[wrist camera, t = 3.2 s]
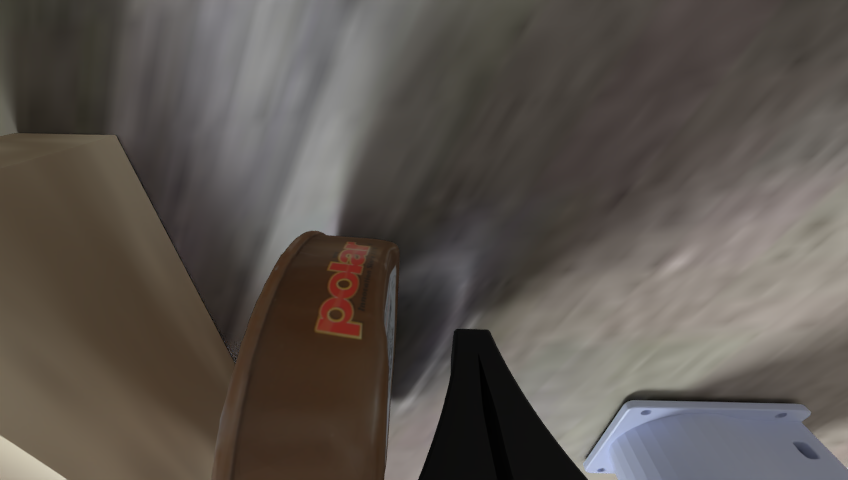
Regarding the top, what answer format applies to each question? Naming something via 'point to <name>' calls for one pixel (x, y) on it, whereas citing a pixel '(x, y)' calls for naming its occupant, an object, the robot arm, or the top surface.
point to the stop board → (98, 324)
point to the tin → (315, 366)
